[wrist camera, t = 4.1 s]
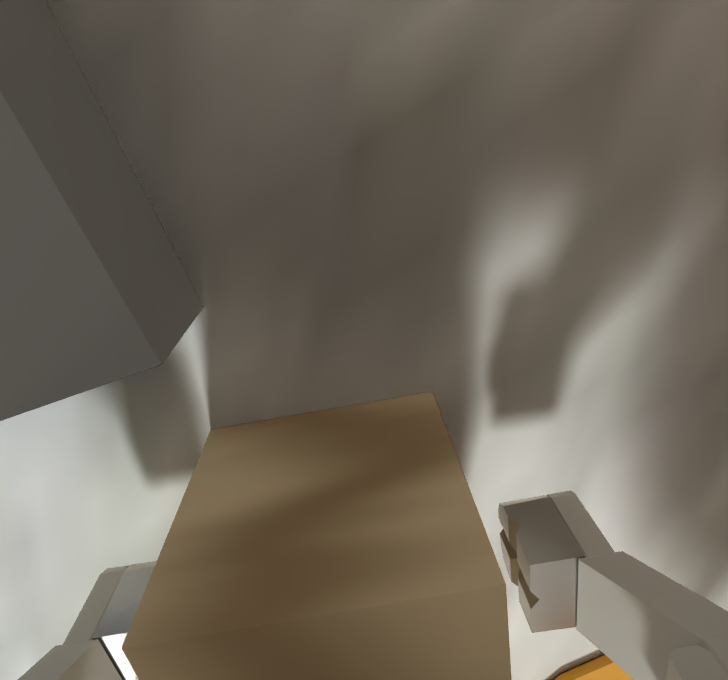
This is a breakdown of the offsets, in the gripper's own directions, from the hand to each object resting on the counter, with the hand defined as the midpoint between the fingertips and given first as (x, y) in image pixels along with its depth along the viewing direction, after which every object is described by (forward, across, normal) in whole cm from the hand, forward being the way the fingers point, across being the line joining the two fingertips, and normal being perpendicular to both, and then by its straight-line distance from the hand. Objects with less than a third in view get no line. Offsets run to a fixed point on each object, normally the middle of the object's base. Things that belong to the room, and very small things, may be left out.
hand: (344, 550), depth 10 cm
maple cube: (+2, 0, 0) cm, 2 cm away
